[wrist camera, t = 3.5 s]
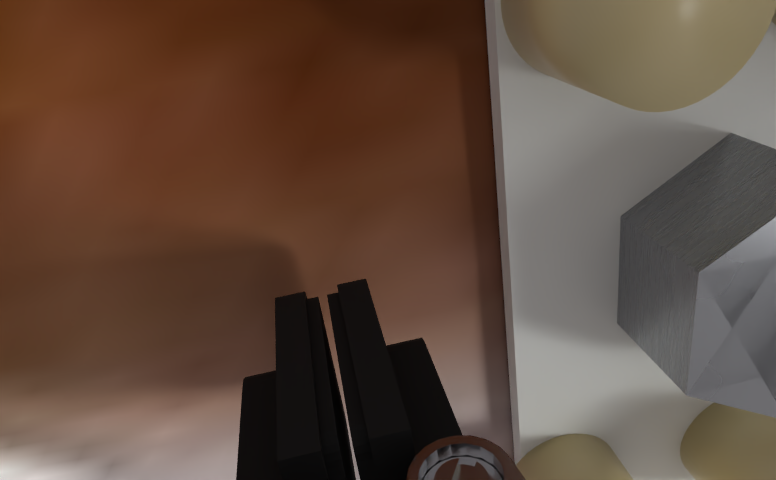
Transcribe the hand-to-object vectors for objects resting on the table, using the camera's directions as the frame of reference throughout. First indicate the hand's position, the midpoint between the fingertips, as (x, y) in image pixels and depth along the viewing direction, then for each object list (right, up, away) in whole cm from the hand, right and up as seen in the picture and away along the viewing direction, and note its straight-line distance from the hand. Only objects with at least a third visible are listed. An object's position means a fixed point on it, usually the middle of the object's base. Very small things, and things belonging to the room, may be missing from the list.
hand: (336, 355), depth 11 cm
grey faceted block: (+8, +2, +1) cm, 8 cm away
